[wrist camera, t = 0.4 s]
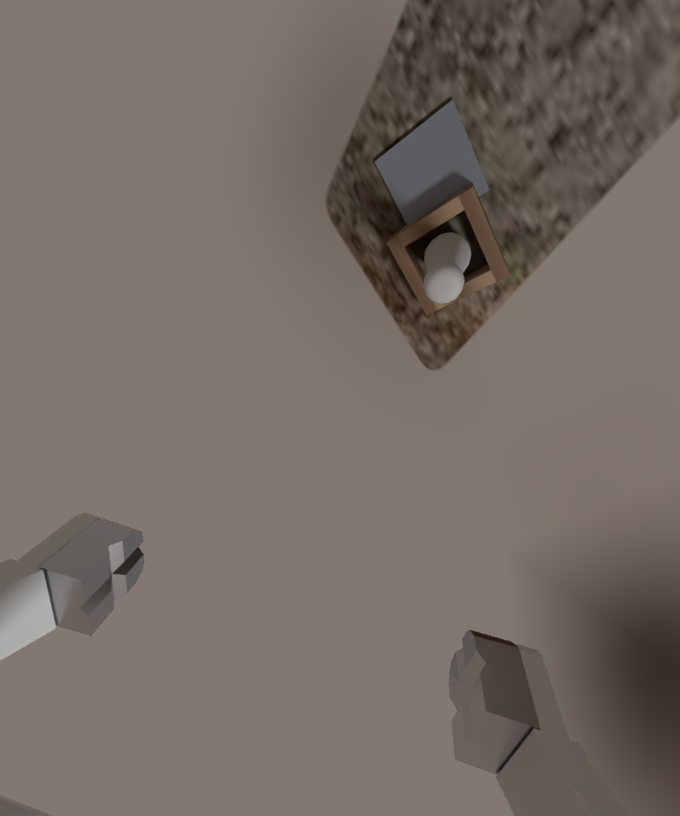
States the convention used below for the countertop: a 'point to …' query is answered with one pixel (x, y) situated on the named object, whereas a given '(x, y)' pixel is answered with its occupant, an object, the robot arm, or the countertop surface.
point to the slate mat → (431, 165)
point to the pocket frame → (433, 219)
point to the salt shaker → (446, 267)
